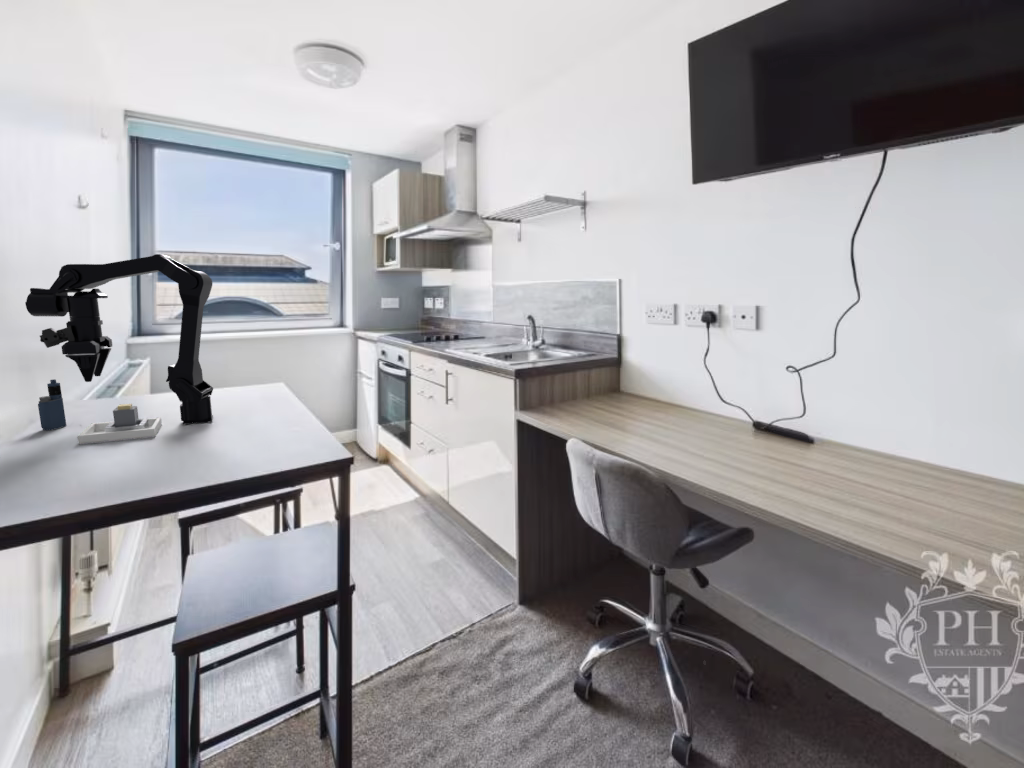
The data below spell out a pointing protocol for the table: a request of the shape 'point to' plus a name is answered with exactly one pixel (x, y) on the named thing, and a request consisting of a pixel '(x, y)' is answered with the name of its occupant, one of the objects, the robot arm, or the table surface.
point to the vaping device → (52, 408)
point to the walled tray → (97, 432)
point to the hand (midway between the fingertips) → (93, 378)
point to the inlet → (142, 425)
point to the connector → (125, 415)
